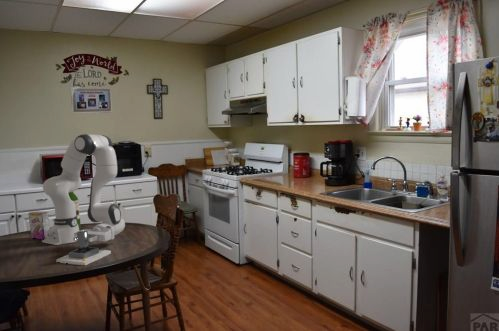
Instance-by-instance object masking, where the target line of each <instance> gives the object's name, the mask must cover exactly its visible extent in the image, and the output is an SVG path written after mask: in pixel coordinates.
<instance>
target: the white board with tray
mask: <svg viewBox="0 0 499 331" xmlns="http://www.w3.org/2000/svg"><path fill="white" fill-rule="evenodd" d="M110 254H112V251H111V250H108V249H107V250H106V249H100V248H99V247H92V246H89V251H88V252H86V253H78V248H77V249H73V250H72V251H70V252H68V254H66V255H64V256H62V257H59V258H57V259H56V261H55V262H56V263H57V262H60V263H59V264H66V263H68V264H69V265H78V266H84V265H85V266H87V265H90V264H91V263H93V262H96V261H99V260H100V259H103V258H104V257H106V256H109V255H110ZM68 264H67V265H68Z"/></svg>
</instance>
